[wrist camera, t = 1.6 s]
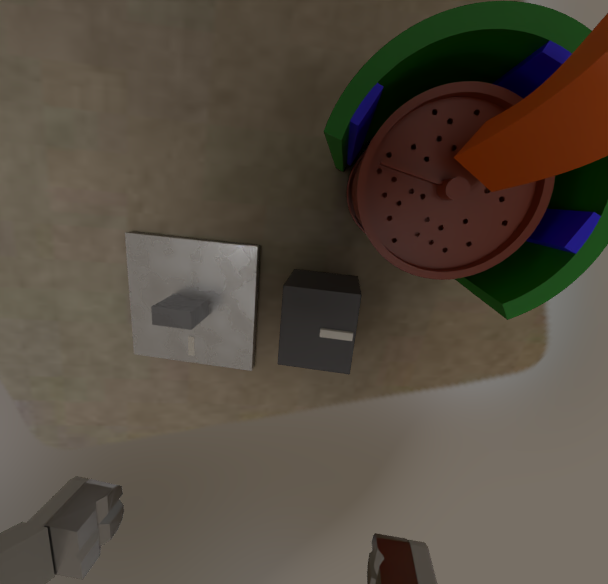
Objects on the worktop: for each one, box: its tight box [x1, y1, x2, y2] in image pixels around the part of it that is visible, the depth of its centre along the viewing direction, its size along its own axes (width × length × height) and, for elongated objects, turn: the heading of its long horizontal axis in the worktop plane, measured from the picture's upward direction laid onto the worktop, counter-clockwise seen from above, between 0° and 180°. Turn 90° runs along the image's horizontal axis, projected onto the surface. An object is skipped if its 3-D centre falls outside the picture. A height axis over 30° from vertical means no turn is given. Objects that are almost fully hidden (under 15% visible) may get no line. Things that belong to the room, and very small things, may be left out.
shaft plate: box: [125, 232, 260, 371], centre depth 28 cm, size 12×12×4 cm
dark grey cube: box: [278, 269, 361, 374], centre depth 26 cm, size 6×6×6 cm
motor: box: [324, 1, 608, 320], centre depth 16 cm, size 10×9×20 cm
